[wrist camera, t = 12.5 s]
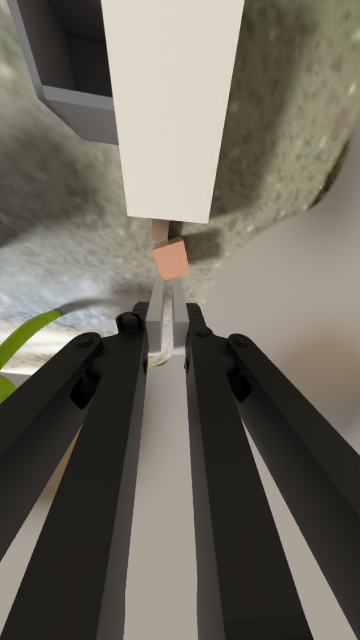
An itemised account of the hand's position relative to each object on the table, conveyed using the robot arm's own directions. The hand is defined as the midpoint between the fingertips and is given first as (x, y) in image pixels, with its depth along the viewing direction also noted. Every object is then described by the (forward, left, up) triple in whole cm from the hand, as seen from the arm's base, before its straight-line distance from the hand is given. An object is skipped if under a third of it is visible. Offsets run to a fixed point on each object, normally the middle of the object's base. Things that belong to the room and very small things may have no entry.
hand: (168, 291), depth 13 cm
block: (-1, 0, -15) cm, 15 cm away
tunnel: (-13, -3, -15) cm, 20 cm away
